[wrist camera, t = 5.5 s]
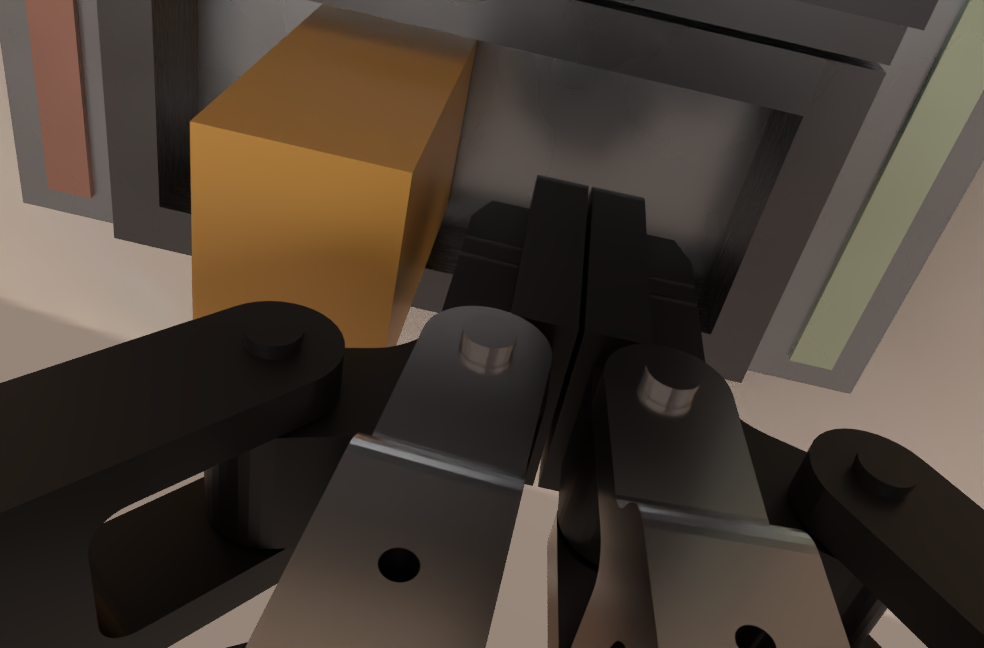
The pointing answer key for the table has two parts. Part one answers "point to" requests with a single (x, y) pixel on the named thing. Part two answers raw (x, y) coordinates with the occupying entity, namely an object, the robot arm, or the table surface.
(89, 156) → the panel
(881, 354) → the table surface
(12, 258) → the table surface
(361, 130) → the block
